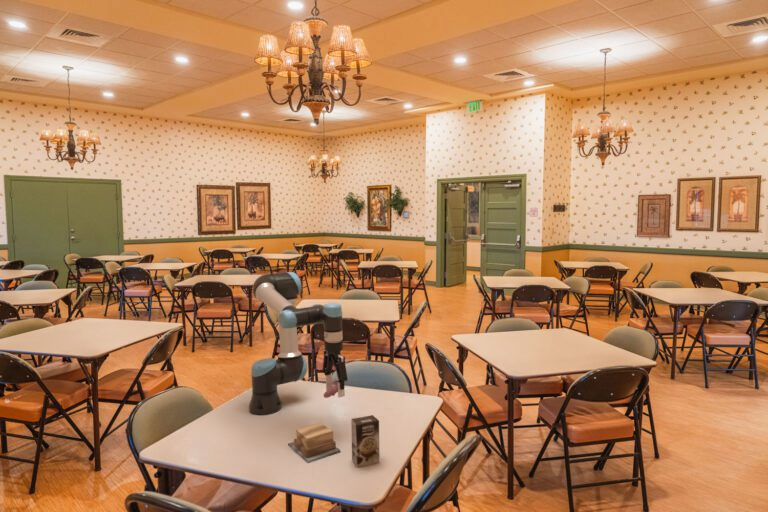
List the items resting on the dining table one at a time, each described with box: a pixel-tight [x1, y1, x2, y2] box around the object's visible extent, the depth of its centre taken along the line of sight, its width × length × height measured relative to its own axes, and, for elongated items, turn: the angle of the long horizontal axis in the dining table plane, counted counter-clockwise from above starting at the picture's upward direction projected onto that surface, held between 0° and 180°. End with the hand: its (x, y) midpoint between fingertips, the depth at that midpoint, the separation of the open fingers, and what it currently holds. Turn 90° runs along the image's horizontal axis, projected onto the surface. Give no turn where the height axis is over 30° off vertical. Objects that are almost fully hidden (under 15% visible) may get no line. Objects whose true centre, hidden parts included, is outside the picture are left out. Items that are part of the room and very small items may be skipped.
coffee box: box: [350, 414, 381, 468], centre depth 183 cm, size 9×6×16 cm
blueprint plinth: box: [287, 422, 341, 464], centre depth 194 cm, size 18×14×8 cm
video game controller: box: [323, 379, 339, 399], centre depth 205 cm, size 10×5×7 cm, turn 168°
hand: (335, 393), depth 206 cm, fingers closed on video game controller, 9 cm apart
